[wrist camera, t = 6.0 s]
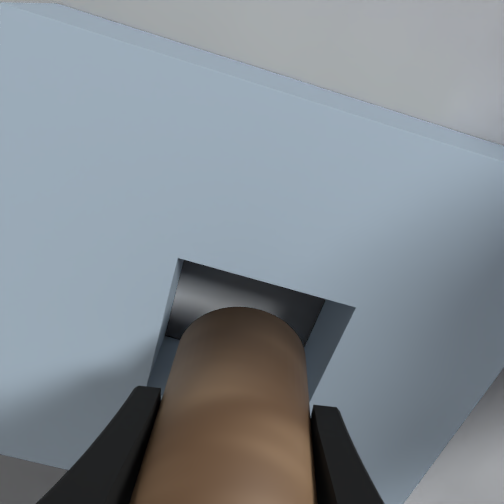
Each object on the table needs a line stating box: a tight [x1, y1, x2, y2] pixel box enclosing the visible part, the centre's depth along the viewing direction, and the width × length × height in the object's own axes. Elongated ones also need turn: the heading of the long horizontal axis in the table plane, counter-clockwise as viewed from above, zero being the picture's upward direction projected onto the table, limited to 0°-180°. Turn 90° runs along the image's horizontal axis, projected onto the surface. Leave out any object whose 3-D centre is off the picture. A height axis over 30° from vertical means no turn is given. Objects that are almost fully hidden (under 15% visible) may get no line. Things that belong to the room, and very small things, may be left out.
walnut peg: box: [129, 307, 317, 504], centre depth 11 cm, size 4×4×7 cm
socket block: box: [0, 2, 504, 504], centre depth 16 cm, size 16×16×3 cm
